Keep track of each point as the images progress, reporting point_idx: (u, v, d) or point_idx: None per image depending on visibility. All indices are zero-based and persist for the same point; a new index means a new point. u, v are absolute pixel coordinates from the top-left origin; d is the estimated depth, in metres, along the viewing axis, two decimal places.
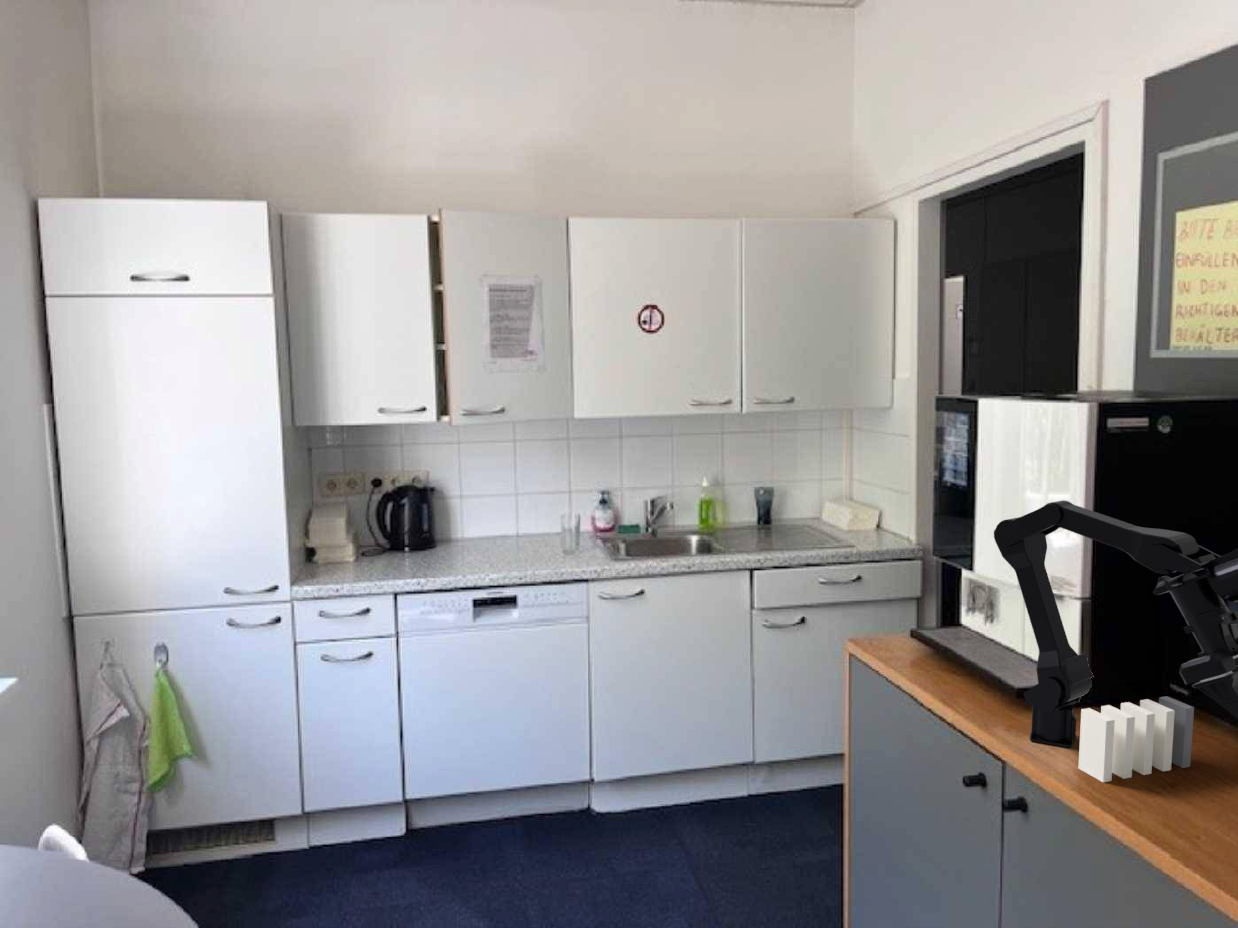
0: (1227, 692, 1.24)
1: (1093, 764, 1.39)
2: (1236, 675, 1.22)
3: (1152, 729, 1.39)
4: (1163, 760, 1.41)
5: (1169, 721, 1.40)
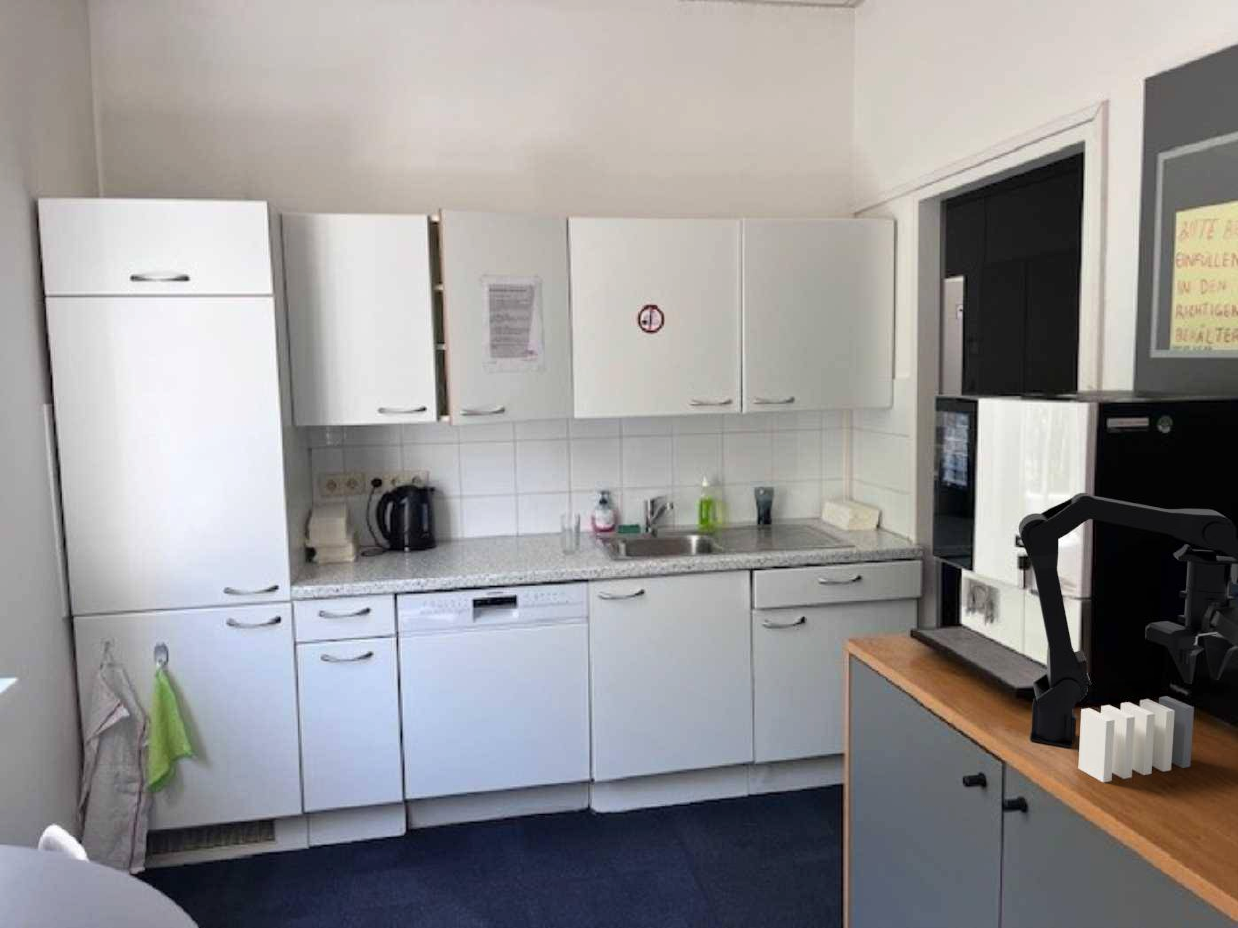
0: (1184, 656, 1.42)
1: (1093, 764, 1.39)
2: (1196, 650, 1.39)
3: (1152, 729, 1.39)
4: (1163, 760, 1.41)
5: (1169, 721, 1.40)
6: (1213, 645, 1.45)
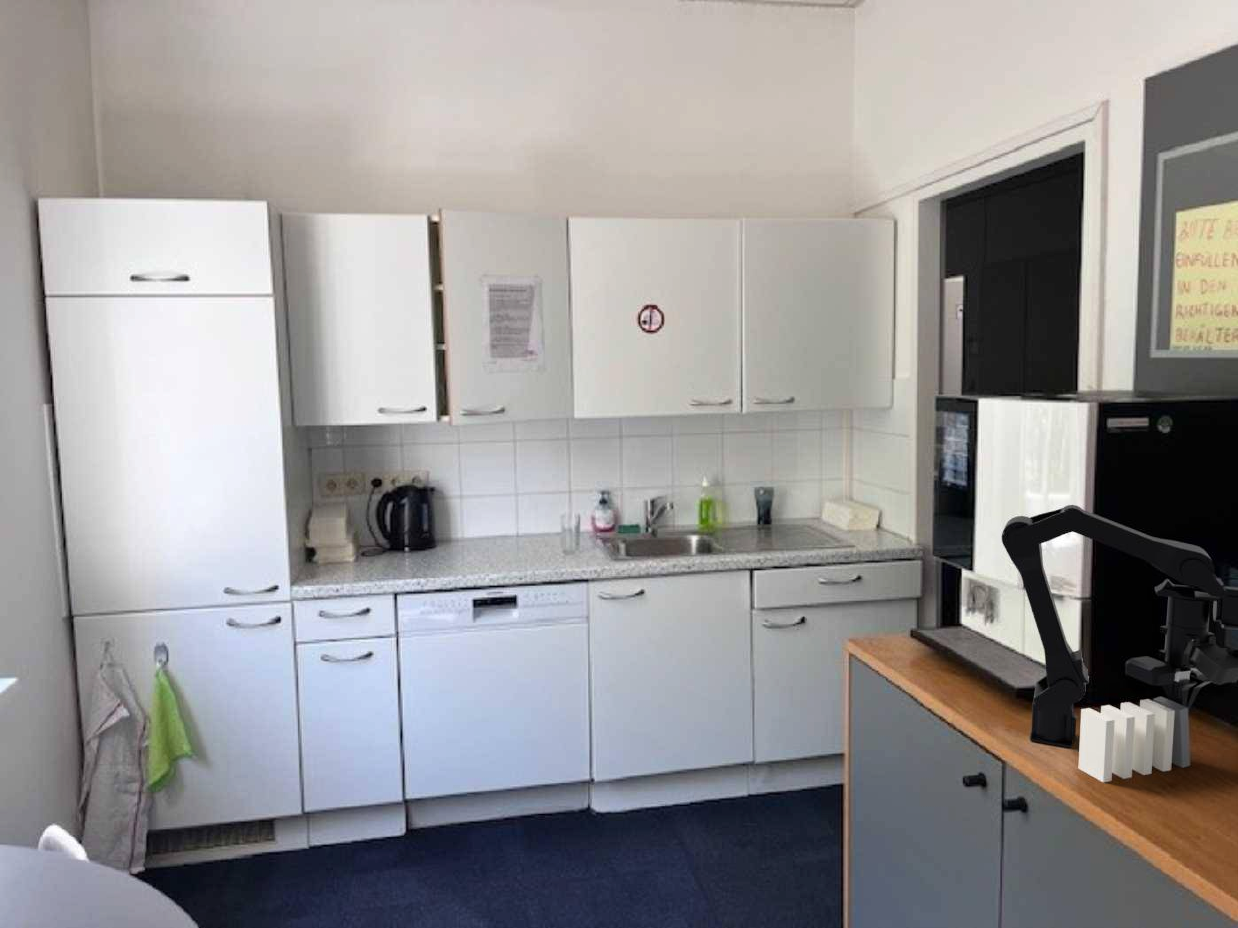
0: (1176, 690, 1.43)
1: (1093, 764, 1.39)
2: (1189, 684, 1.40)
3: (1152, 729, 1.39)
4: (1163, 760, 1.41)
5: (1169, 721, 1.40)
6: None
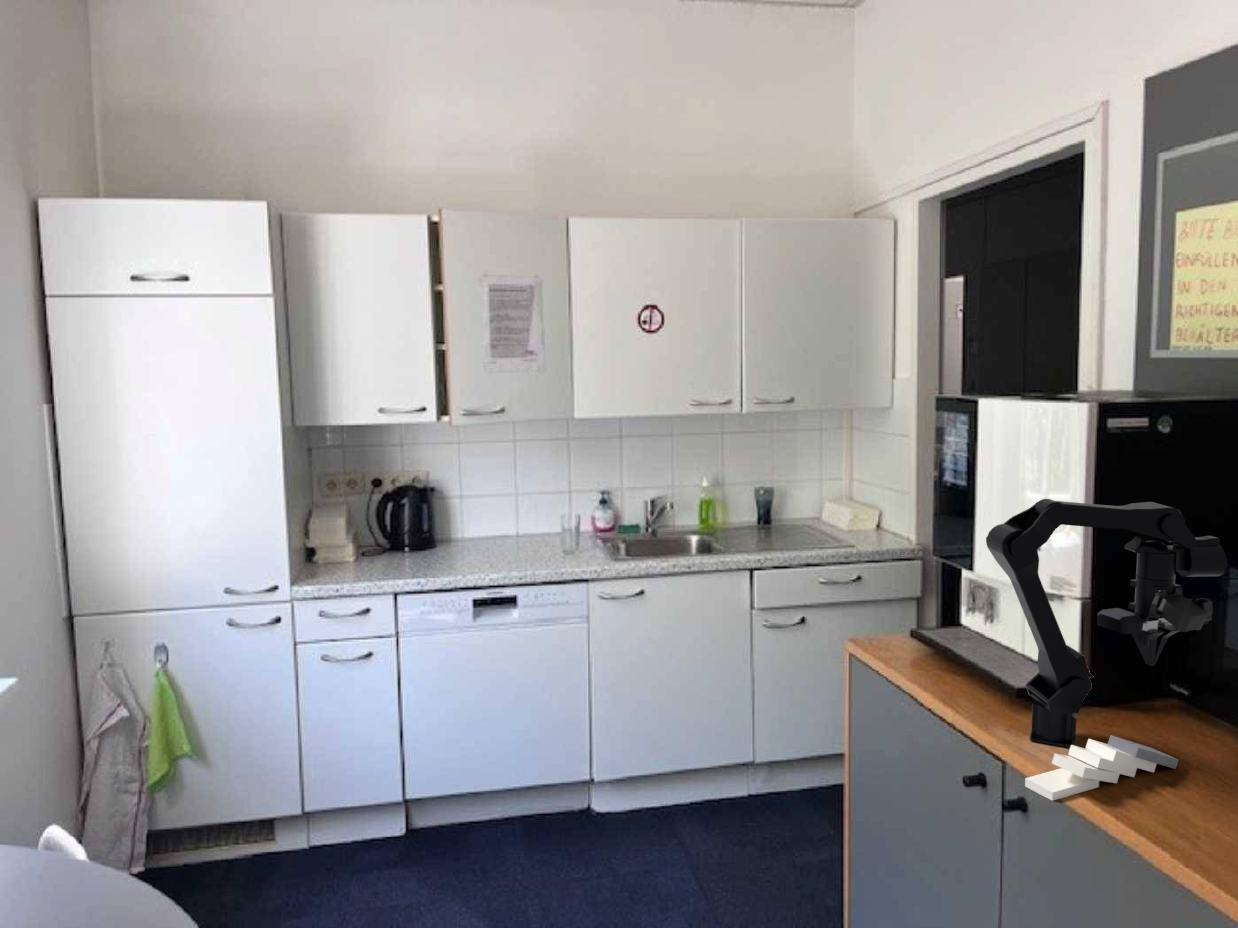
0: (1146, 639, 1.51)
1: None
2: (1156, 633, 1.48)
3: (1109, 762, 1.35)
4: (1146, 770, 1.40)
5: (1121, 758, 1.37)
6: None
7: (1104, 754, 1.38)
